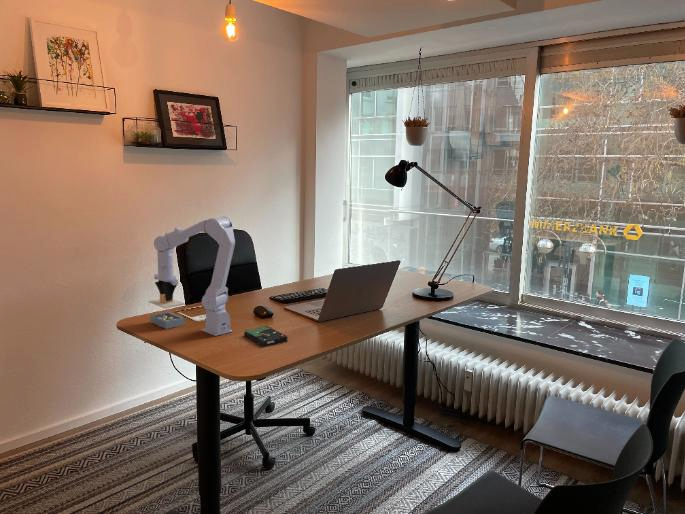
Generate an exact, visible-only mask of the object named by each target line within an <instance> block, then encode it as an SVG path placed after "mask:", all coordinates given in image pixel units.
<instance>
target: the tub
mask: <svg viewBox="0 0 685 514" xmlns="http://www.w3.org/2000/svg"><path fill="white" fill-rule="evenodd" d="M149 322H152V323H154V324H156V325H158V326H157V327H159V326H160V327H159V328H161V327H162V328H161V329H163V328H165V329H167V330H170V329H169V328H171V329H174V328H173V327H176V328H179V327H178V326H180V327H183V326H182V325H184V326H185V318H184V317H183V316H181V315H178V314H174V313H172V312H169V311H167V312H161V313H157V314H152V315H149ZM152 323H151V324H152ZM154 324H153V325H154ZM156 325H155V326H156ZM165 329H164V330H165Z"/></svg>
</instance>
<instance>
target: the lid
mask: <svg viewBox="0 0 685 514" xmlns="http://www.w3.org/2000/svg"><path fill="white" fill-rule="evenodd" d="M148 303H150V304H153V305H155V306H158V307H160V308H163V309H169V308H175V307H181V306H184V305H185V302H182V301H179V300H178V299H174V296H173V297H172V300H171V301H166V298H165V294H161V295H160V294H159V298H158V299H157V298H156V299H152V300H148Z"/></svg>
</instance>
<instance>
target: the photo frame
mask: <svg viewBox="0 0 685 514" xmlns="http://www.w3.org/2000/svg"><path fill="white" fill-rule="evenodd" d="M202 306H203V305H199V306H198V307H199V308H203V307H202ZM196 307H197V306H194V307H193V308H194V309H197V308H196ZM191 308H192V307H190V308H188V309H189V310H192V309H191ZM184 309H185V310H184V311H187V310H186V309H187V308H184ZM178 313H180V314H182V315H184V316H186V317H185V318H187V317H188V318H187V319H189V318H190V319H189V320H191V319H192V321H194V322H196V321H198V322H202V321H206V320H205V319H206V313H205V314H201V315H197V316H189V315H187V314H184V313H182V312H181V311H179V312H178ZM180 314H179V315H180ZM182 315H181V316H182ZM184 316H183V317H184ZM201 320H202V321H201Z"/></svg>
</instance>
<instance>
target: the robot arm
mask: <svg viewBox="0 0 685 514" xmlns="http://www.w3.org/2000/svg"><path fill="white" fill-rule="evenodd" d="M234 226H235V225H234V223H233V222H232V221H231V219H230V218H229V217H227V216H224V215H223V216H221V217H215V218H214V217H213V218H211V217H210V218H208V219H205V220H202V221H199V222H197V223H195V224H193V225H191V226H189V227H187V228H183V227H175V228H174V230H172V231H171V232H165V233H164V235H159V236H157V237H156V238H155V239H154V241H153V246H154V248H155V249H156V253H157V273H156V274H154V277H153V279H154V280H157V281H155V282H154V284H155V285H156V288H157V289H158V292H159V296H160V295H161V294H165V298H166V301H171V300H172V297H173V298H174V292H175V290H176V288H177V286H178V285H179V279H177V276H176V275H175V274H174V249H175V247H178V246H180V245H183V244H184V243H187V242H188V241H189V239H190V237H193V236H195V235H197V234H199V233H204V234H205V233H206V234H208V235H209V237H211V238H212V239H214V240H215V241H216V242H217V244H218V245H219V247H218V251H217V255H216V260H215V263H214V268H213V273H212V278H211V281H210V285H209V286H208V287H207V289H206V290H205V294H204V295H203V296H202V299H201V304H202V305H201V306H203V307H202V308H204V309H205V314H206V320H205V328H201V329H200V331H201V332H204V333H207V334H210V335H212V336H217V337H218V336H221V335H225V334H228V333H232V332H233V330H232V329H231V316H230V313H229V312H227V311H226V304H227V303H228V301H229V294H228V292H229V288H228V287H227V286H226V285H227V281H228V276H229V271H230V266H231V264H232V263H231V262H232V259H233V254H234V250H235V245H236V239H235V233H234Z"/></svg>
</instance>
